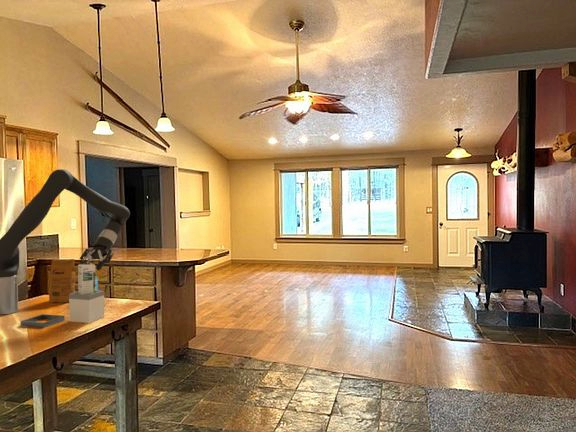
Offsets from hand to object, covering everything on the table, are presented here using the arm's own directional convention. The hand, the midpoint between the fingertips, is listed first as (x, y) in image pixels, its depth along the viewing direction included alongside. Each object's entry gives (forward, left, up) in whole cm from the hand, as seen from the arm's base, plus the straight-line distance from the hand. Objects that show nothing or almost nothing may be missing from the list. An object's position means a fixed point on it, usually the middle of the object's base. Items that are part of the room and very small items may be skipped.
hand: (89, 269), depth 190 cm
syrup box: (0, -1, -12) cm, 12 cm away
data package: (-22, +29, -22) cm, 43 cm away
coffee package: (-36, +25, -22) cm, 49 cm away
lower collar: (-14, -11, -22) cm, 29 cm away
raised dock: (0, -1, -22) cm, 22 cm away
